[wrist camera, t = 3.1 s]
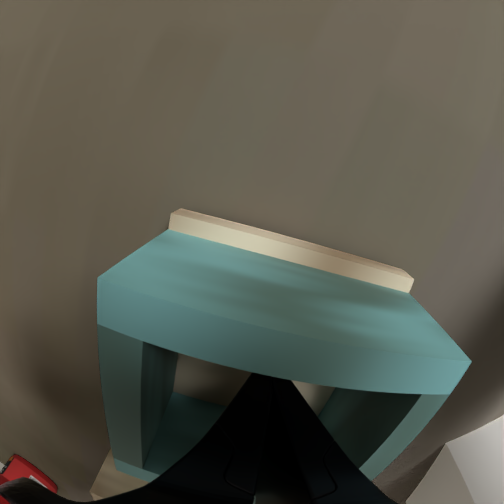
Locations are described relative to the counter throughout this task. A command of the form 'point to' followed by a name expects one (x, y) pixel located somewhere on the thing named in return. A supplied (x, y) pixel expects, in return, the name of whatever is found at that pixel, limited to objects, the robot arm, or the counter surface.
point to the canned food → (23, 474)
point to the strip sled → (260, 344)
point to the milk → (466, 470)
